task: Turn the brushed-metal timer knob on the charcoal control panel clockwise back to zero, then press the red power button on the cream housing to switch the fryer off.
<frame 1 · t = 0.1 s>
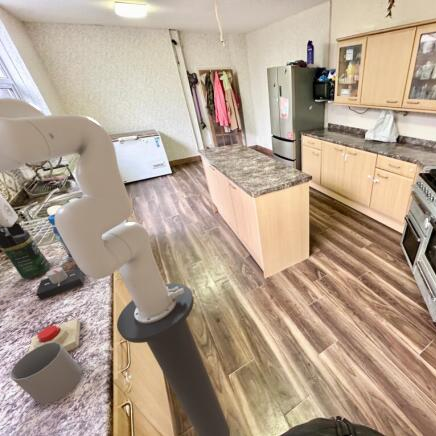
hand: (15, 240, 77), 22 cm above the counter, tool pointing down, fingers open, 9 cm apart
timer knob: (57, 275, 86), point 5 cm above the counter, hinge at 120.0°
coffee jar: (38, 272, 97), on the counter
fryer panel: (64, 285, 88), on the counter
cup: (60, 384, 57), on the counter
power button: (48, 333, 64), point 4 cm above the counter, slide at 0.1 cm
tomato: (88, 260, 102), on the counter
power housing: (57, 343, 66), on the counter
beverage bottle: (81, 254, 107), on the counter
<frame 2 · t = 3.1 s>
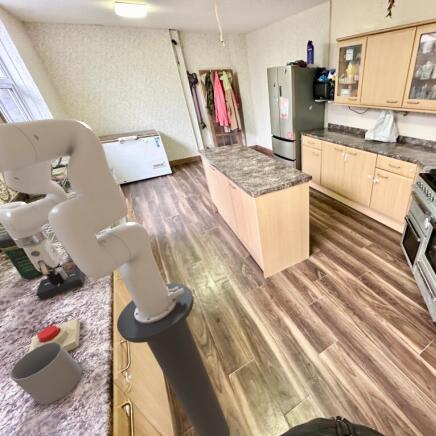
hand: (59, 278, 87), 3 cm above the counter, tool pointing down, fingers closed on timer knob, 4 cm apart
timer knob: (57, 275, 86), point 5 cm above the counter, hinge at 119.9°, touching gripper
everything else where it was.
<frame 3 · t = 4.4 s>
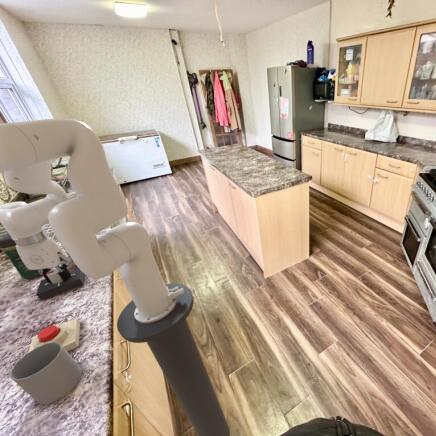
hand: (59, 278, 87), 3 cm above the counter, tool pointing down, fingers closed on timer knob, 4 cm apart
timer knob: (57, 275, 86), point 5 cm above the counter, hinge at -0.3°, touching gripper
everything else where it was.
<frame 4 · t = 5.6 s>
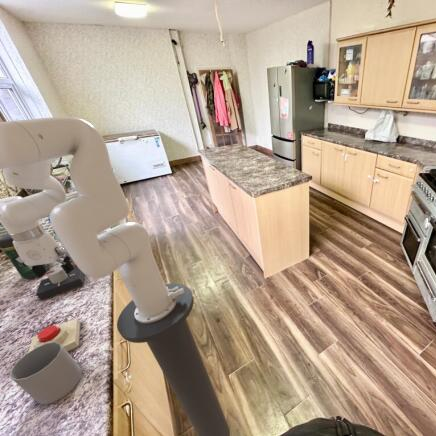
hand: (56, 273, 85), 6 cm above the counter, tool pointing down, fingers open, 9 cm apart
timer knob: (57, 275, 86), point 5 cm above the counter, hinge at -0.2°
everything else where it was.
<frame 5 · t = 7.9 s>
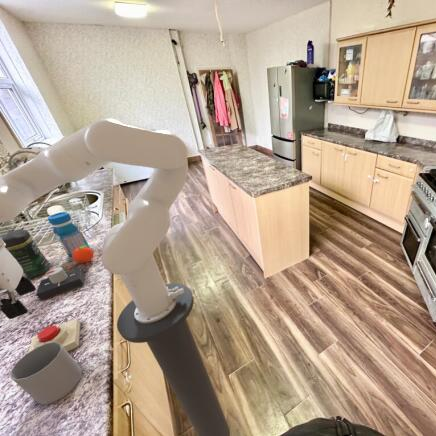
hand: (24, 303, 59), 16 cm above the counter, tool pointing down, fingers open, 8 cm apart
nothing on the counter moved.
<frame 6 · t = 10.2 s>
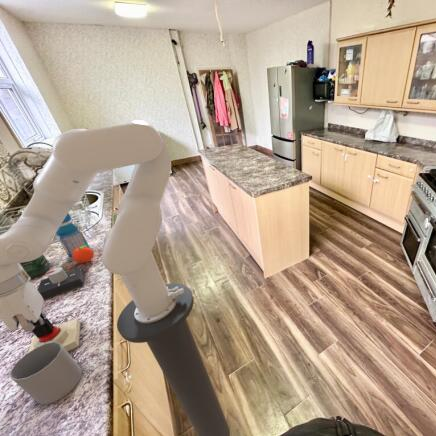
hand: (46, 332, 64), 5 cm above the counter, tool pointing down, fingers closed
power button: (49, 334, 64), point 4 cm above the counter, slide at -0.2 cm, touching gripper
everything else where it was.
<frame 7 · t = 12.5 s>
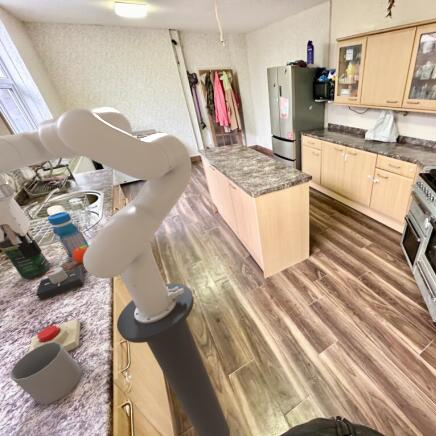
hand: (34, 254, 65), 23 cm above the counter, tool pointing down, fingers closed
power button: (48, 333, 64), point 4 cm above the counter, slide at 0.1 cm
everything else where it was.
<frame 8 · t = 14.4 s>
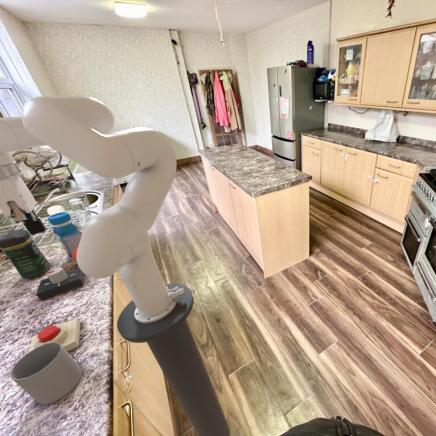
hand: (39, 232, 69), 27 cm above the counter, tool pointing down, fingers closed
nothing on the counter moved.
at the end: timer knob at +0° (first picture: +120°); power button pushed in 1.1 cm at the most during the clip, back to where it started at the end; power button slide at 0.1 cm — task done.
